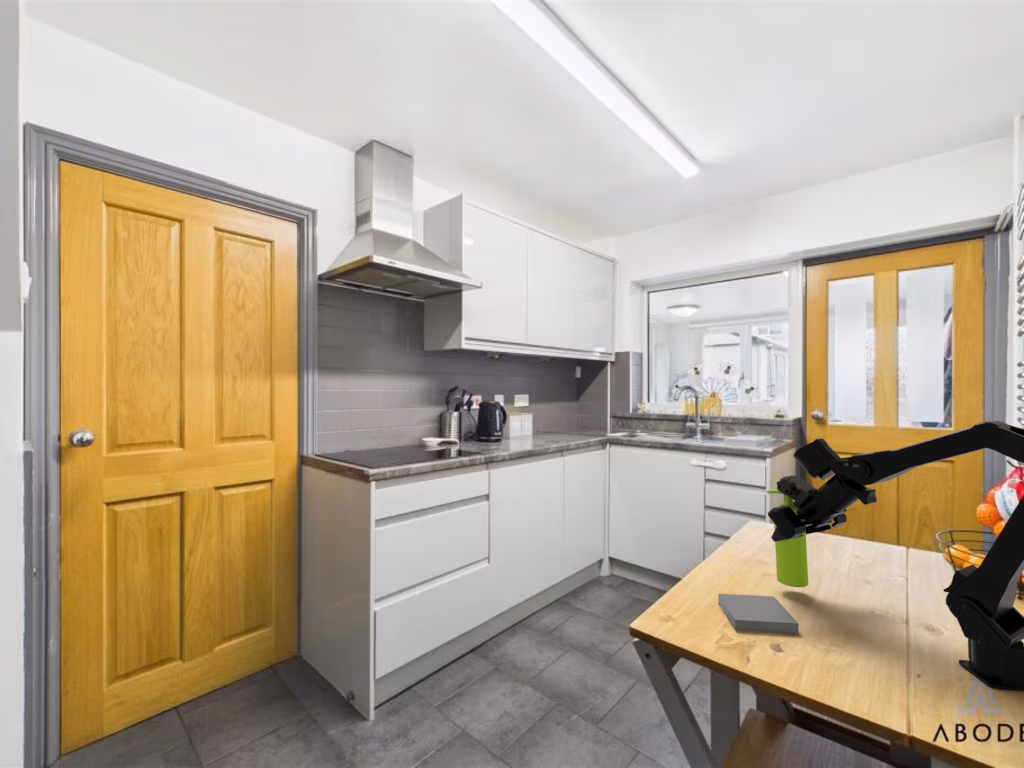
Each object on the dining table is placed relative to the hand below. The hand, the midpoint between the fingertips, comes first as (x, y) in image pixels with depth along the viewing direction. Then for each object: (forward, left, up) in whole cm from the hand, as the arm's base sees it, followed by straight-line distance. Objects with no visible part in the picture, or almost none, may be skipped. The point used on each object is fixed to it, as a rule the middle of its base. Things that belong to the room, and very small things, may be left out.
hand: (782, 537), depth 102 cm
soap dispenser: (-1, -1, -9) cm, 10 cm away
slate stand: (-13, +10, -12) cm, 20 cm away
